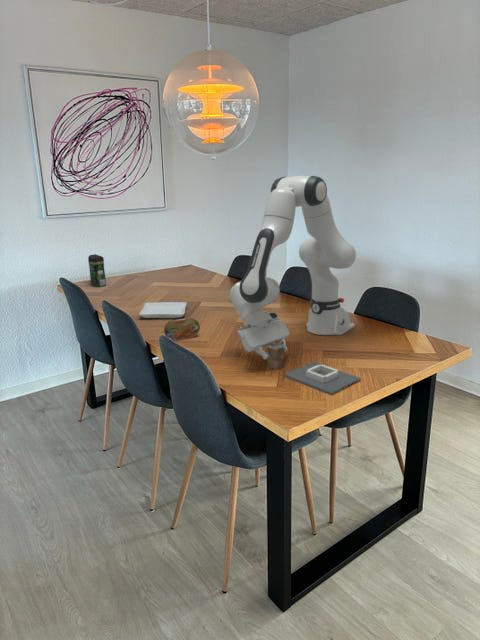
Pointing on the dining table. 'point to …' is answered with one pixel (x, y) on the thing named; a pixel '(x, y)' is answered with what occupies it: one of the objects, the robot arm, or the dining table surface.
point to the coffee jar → (97, 270)
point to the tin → (181, 329)
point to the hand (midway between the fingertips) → (276, 354)
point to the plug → (275, 356)
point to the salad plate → (163, 310)
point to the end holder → (322, 377)
